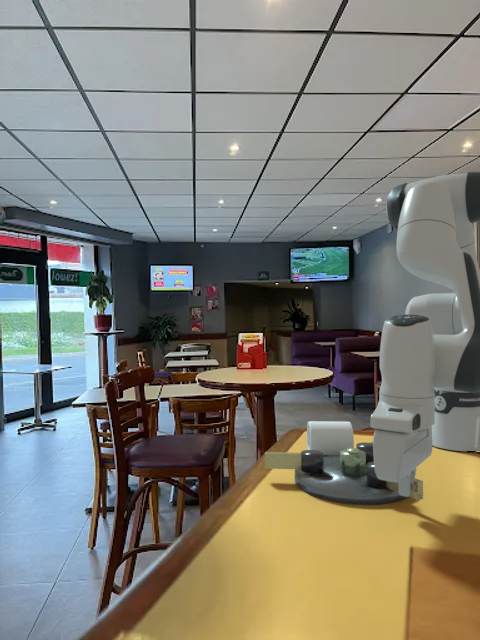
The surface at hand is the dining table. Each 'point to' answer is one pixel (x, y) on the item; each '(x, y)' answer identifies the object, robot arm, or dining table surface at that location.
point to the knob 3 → (392, 483)
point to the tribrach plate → (345, 481)
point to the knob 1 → (296, 461)
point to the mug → (329, 437)
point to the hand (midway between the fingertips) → (406, 494)
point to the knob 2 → (367, 450)
